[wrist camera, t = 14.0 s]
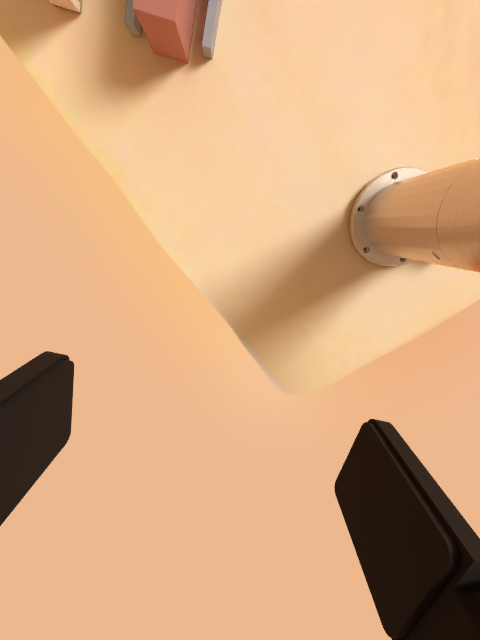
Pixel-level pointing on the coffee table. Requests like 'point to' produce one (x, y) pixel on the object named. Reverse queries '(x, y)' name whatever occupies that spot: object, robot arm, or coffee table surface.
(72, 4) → the olive rectangular block
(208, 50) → the shelf slot
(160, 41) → the reddish pink rectangular block
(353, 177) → the coffee table surface
